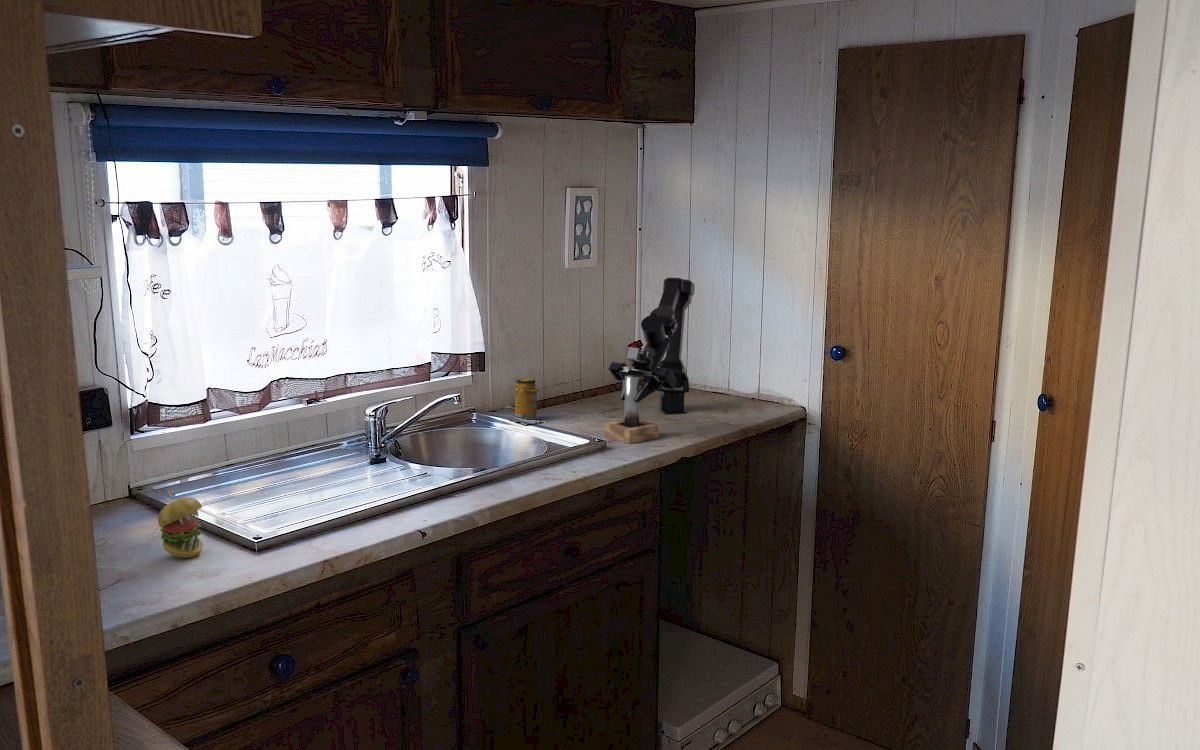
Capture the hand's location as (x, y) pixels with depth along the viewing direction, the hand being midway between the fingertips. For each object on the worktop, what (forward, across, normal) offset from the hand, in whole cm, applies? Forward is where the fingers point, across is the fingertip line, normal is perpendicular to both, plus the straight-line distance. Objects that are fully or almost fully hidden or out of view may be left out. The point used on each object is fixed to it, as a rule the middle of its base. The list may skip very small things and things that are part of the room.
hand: (629, 400), depth 268 cm
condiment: (+9, -33, +6) cm, 35 cm away
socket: (+6, 0, +8) cm, 10 cm away
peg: (+4, 0, +6) cm, 8 cm away
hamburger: (+92, -14, -78) cm, 121 cm away
